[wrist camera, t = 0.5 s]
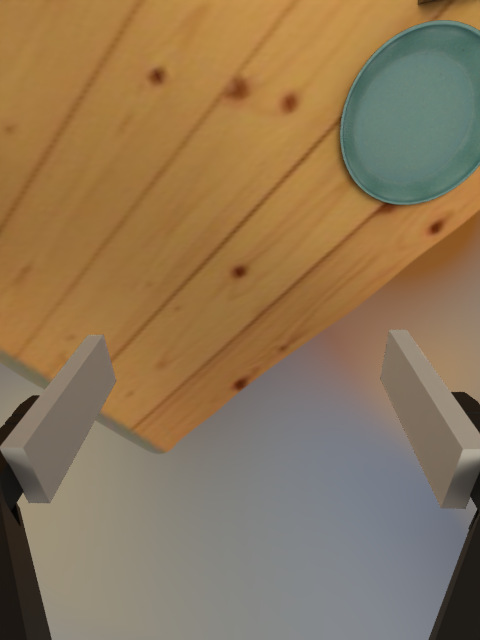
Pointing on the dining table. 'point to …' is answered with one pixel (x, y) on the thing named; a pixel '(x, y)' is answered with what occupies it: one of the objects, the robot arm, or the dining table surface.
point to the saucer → (415, 114)
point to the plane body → (424, 1)
